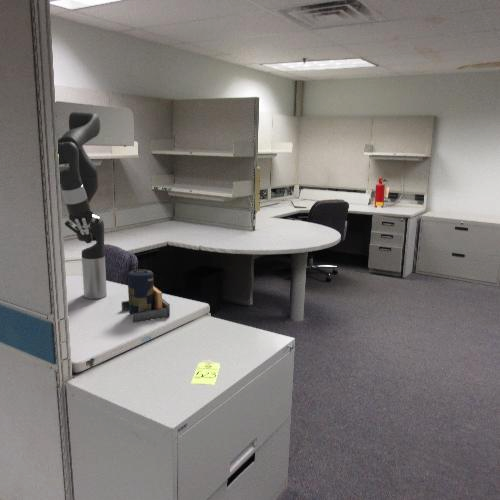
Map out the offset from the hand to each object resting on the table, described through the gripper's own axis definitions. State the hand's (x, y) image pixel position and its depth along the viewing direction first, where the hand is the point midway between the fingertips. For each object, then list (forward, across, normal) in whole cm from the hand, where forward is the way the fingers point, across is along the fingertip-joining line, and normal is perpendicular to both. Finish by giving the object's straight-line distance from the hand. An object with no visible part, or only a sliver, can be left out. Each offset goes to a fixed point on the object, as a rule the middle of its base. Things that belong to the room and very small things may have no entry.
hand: (89, 242), depth 176 cm
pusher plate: (+31, -19, +4) cm, 36 cm away
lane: (+30, -15, +6) cm, 34 cm away
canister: (+30, -14, +7) cm, 34 cm away
